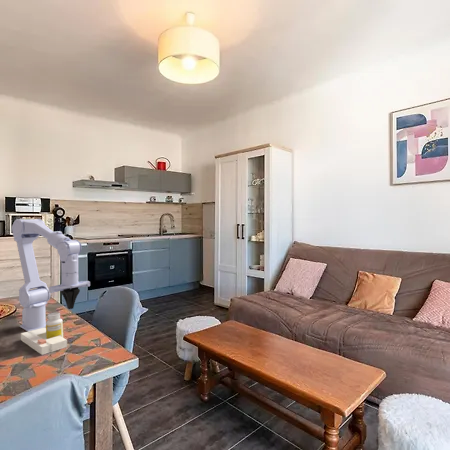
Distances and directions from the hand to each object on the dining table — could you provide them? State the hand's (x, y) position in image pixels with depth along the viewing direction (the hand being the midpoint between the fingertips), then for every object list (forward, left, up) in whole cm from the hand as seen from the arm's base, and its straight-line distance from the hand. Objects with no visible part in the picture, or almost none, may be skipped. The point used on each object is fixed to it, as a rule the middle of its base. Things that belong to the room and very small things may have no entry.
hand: (70, 308), depth 118 cm
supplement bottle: (0, -6, -11) cm, 12 cm away
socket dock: (0, -9, -10) cm, 14 cm away
